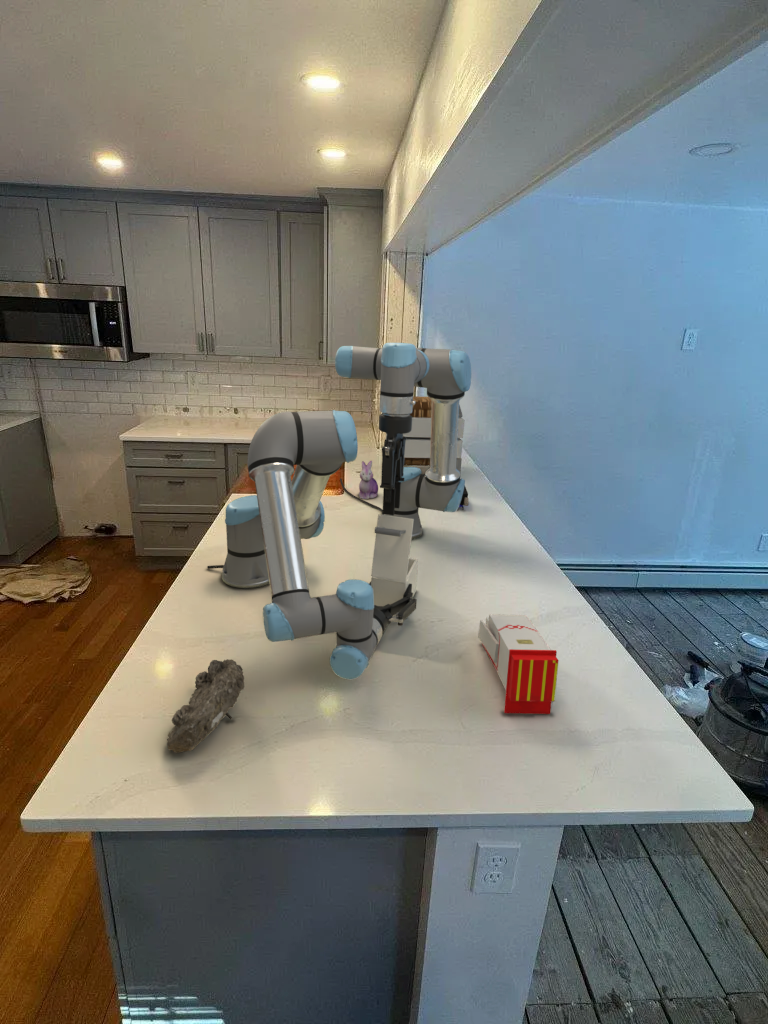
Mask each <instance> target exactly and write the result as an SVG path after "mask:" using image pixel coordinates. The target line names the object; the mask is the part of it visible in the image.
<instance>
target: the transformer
mask: <svg viewBox="0 0 768 1024" xmlns="http://www.w3.org/2000/svg"><path fill="white" fill-rule="evenodd" d="M413 400H414V401H415V402H416V403H415V405H413V410H412V413H411V414H409V415H411V416H412V430H411V431H410V432H409V433H405V434H403V436H406V442H405V453H404V466H406V467H417V466H418V467H430V444H431V403H432V400H431V399H430V398H429V397H428V396H415V395H413ZM464 429H465V419H464V418H463V411H462V408H461V405H460V404H459V417H458V437H457V456H456V469H457V470H458V471H459V472H460V475H461V472H462V461H463V460H462V453H463V442H464V441H463V440H462V439H463V438H464V431H465V430H464ZM386 438H387V433H385V438H384V440H385V439H386Z"/></svg>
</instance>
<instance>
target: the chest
mask: <svg viewBox="0 0 768 1024" xmlns="http://www.w3.org/2000/svg"><path fill="white" fill-rule="evenodd" d="M418 569H419V558H414V557H409V563H408V571H407V579H406V582H403V581H397V580H391V579H385V578H379V577H372V576H370V582H371V587H372V588H373V595H374V605H377V606H385V605H387V604H392V603H394V602H396V601H398V600H400V599H402V598H403V595H404V593H405V591H406V589H407V587H408V585H409V584H412V593H413V597H414V596H415V594H416V592H417V585H418V583H417V582H418V571H419V570H418ZM395 615H396V614H395ZM395 615H393V616H395Z"/></svg>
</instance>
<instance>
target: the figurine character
mask: <svg viewBox="0 0 768 1024" xmlns="http://www.w3.org/2000/svg"><path fill="white" fill-rule="evenodd" d="M469 502H470V501H469V492H468V490H467V487H466V485H465V486H464V491H463V495H462V499H461V502H460V505H459V507H458V508H461V510H462V511H464V510H465V507H468V506H469Z"/></svg>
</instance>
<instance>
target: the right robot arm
mask: <svg viewBox="0 0 768 1024" xmlns="http://www.w3.org/2000/svg"><path fill="white" fill-rule="evenodd" d="M334 357H335V359H334V367H335V372H336V374H337V376H339V377H342V378H348V379H359V380H373V381H380V390H379V409H378V410H379V411H378V412H380V414H379V416H378V417H379V418H378V430H379V431H380V432H382V433H384V434H386V433H387V438H386V437H385V438H386V439H385V438H384V442H383V445H382V446H381V457H382V458H381V476H380V479H381V481H380V484H379V488H380V489H382V491H383V492H382V493H383V494H382V507H380V506H377V505H375V504H373V503H370V502H368V501H366V500H365V499H363V498H360V497H359V496H356V495H354V494H353V493H351V492H349V490H348V489H347V488H346V487H345V485H344V482H343V478H339V481H340V486H341V488H342V489H343V491H345V492H346V493H347V494H348V495H349V496H350V497H352V498H354V499H356V500H358V501H360V502H361V503H364V504H366V505H368V506H370V507H372V508H375V509H377V510H379V511H380V512H381V515H387V516H395V517H402V518H409V519H414V522H413V531H412V539H411V540H415V539H418V538H420V537H421V536H422V535H423V525H422V524H421V518H420V515H419V509H425V510H432V511H439V512H443V513H445V512H447V513H456V512H457V511H458V509H459V508H460V507H459V505H460V502H461V499H462V495H463V491H464V486H465V487H466V480H465V479H464V478H462V477H461V474H460V472H459V471H458V470H457V469H456V456H457V437H458V417H459V405H460V401H461V400H462V399H463V398H464V397H465V393H466V392H468V391H470V388H471V384H472V364H471V359H470V357H469V355H468V353H467V352H466V351H463V350H455V349H453V348H452V349H450V348H449V349H448V348H429V347H428V348H426V347H416V345H415V344H414V343H409V342H386V343H384V344H383V345H382V347H370V346H354V345H342V346H340V347H339V348H337V351H336V353H335V356H334ZM415 387H416V388H423V389H424V388H425V389H426V397H429V398H430V399H431V400H432V403H431V444H430V466H429V468H428V469H427V470H426V471H425V473H422V469H421V468H419V467H417V466H405V465H404V453H405V442H406V436H403V434H405V433H409V432H410V431H411V430H412V416H411V415H409V414H411V413H412V410H413V405H415V403H416V402H415V401H414V400H413V396H415V395H414V392H415Z"/></svg>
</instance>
